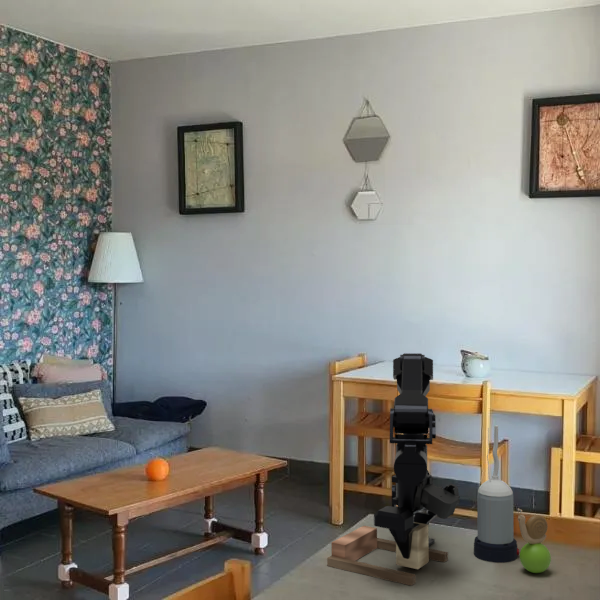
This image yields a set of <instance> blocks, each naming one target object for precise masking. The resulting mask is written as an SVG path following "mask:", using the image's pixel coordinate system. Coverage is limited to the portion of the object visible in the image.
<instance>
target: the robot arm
mask: <svg viewBox="0 0 600 600" xmlns="http://www.w3.org/2000/svg"><path fill="white" fill-rule="evenodd" d="M392 378H393V380H396V388H397V392H398V395H397V396H395V398H394V403H393V408H392V407H391V408H390V410H389V411H390V412H389V444H395V458H394V462H393V473H394V475H393V476H391V483H394V484H391V505H386V506H384V507H382V508H380V509H378V510H377V511H376V512H375V513H374V514H373V527H374V526H375V527H376V528H377V527H378V528H383V529H388V530H389V532H390V534H391V536H392V538H393V539H394V540H393V541H395V542H396V544H397V546H398V548H399V550H400V552H401V554H402V556H403V558H406V559H409V558H410V552H411V543H412V533H413V531H414V530H415V529H416V528H417V527H418V526H419V525H420V524H416V523H414V522H417V523H422V524H428V526H429V525H430V522H431V521H432V520H434V519H435V518H436V517H437V518H440V519H442V520H446V519H448V517H450V516H453V515H454V514H455V511H456V509H457V505H459V504H461V499H460V497H461V496H460V494H459V487H458V485H455V484H454V483H450V484H448V485H446V486H445V487H444V488H443V486H442V485H441V486H438V485H435V484H434V478H433V477H432V475H431V474H430V472H429V469H428V445H433V439H437V438H436V437H437V433H436V431H437V426H436V415H435V413H434V410H433V409H432V408H429V398H428V397H427V395H428V393H429V392H430V390H431V388H430V387H431V385H430V384H431V383H430V382H431V381H433V380H434V360H433V359H431V358H429V357H426V356H425V354H422V353H406V352H405V353H403V354H400V355H399V357H397V358H394V359H393V360H392ZM428 434H429V436H428ZM428 542H429V546H431V545H433V544H434V543H436V540H435V538H429V537H428Z"/></svg>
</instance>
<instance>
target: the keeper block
mask: <svg viewBox="0 0 600 600" xmlns="http://www.w3.org/2000/svg"><path fill="white" fill-rule="evenodd" d="M414 523H416V524H420V525H419V526H418V527H417V528H416V529H415V530H414V531H413V533H412V543H411V552H410V558H409V559H406V558H403V556H402V554H401V552H400V550H399V548H398V546H397V544H396V552H395V556H396V557H395V559H396V562H395V564H396V565H397V566H401V567H406V568H411V569H413V570H414V569H415V570H419V569H420V568H423V566H425V565H427V564H428V563H429V562H430V561H429V560H430V559H429V548H430V545H429V542H428V538H429V525H428V524H422V523H417V522H414Z"/></svg>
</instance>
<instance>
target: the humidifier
mask: <svg viewBox="0 0 600 600" xmlns="http://www.w3.org/2000/svg"><path fill="white" fill-rule="evenodd" d="M493 427H494V428H493V447H492V448H493V449H492V457H493V458H492V459H493V472H492V475H491V478H490V465H489V461H490V460H489V454H490V450H488V451H487V455H486V459H487V465H488V467H487V469H488V470H487V471H488V473H487V475H488V477H487V478H488V479H487V480H486V481H484V482H482V484H481V485H480V486H479V488H478V490H477V498H476V499H477V501H476V502H477V503H476V506H477V509H476V510H477V511H476V512H477V515H476V516H477V523H476V524H477V526H476V527H477V535H476V537H474V542H473V554H474V557H475V558H477V559H479V560H482V561H484V562H489V563H497V564H499V563H511V562H514V561H516V559H518V556H520V549H519V547H518V543H517V540H516V539H515V538H514V492H513V490H512V488H511V487H510V485H508V484H507V482H505V481H503V480H502V479H501V478H499V470H500V469H499V468H500V461H499V456H498V448H499V425H494V426H493ZM487 429H488V430H487V431H488V432H487V438H488V439H487V441H488V442H487V443H488V447H490V441H489V440H490V438H489V437H490V434H489V433H490V432H489V431H490V430H489V429H490V428H489V427H488V428H487Z"/></svg>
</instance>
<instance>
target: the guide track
mask: <svg viewBox="0 0 600 600" xmlns="http://www.w3.org/2000/svg"><path fill="white" fill-rule="evenodd" d="M330 544H331V555H330V556H328V557H327V559H326V560H327V561H326V562H327V563H326V564H327V565H326V566H327V567H330V568H334V569H340V570H344V571H347V572H352V573H356V574H360V575H364V576H369V577H372V578H373V577H374V578H377V579H382V580H385V581H390V582H394V583H399V584H403V585H407V586H414V585H415V584H416V583H417V582H416V574H414V573H410V572H406V571H402V570H396V569H393V568H388V567H383V566H379V565H375V564H371V563H370V564H369V563H366V562H361V561H358V560H359V559H360V558H362V557H364V556H366V555H367V554H369V553H371V552H374V550H376V549H379V550H384V551H388V552H389V551H390V552H394V553H396V542H395V540H390V539H385V538H380V537H378V528H377V527H374V526H373V527H372V526H368V525H362V526H361V527H357V528H356V529H355V530H352V531H351V532H349V533H346V534H345V535H343V536H340V537H339V538H337V539H335V540H333V541H331V543H330ZM429 560H431V561H436V562H441V563H446V562H447V561H449V552H448V551H444V550H439V549H434V548H430V547H429Z"/></svg>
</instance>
